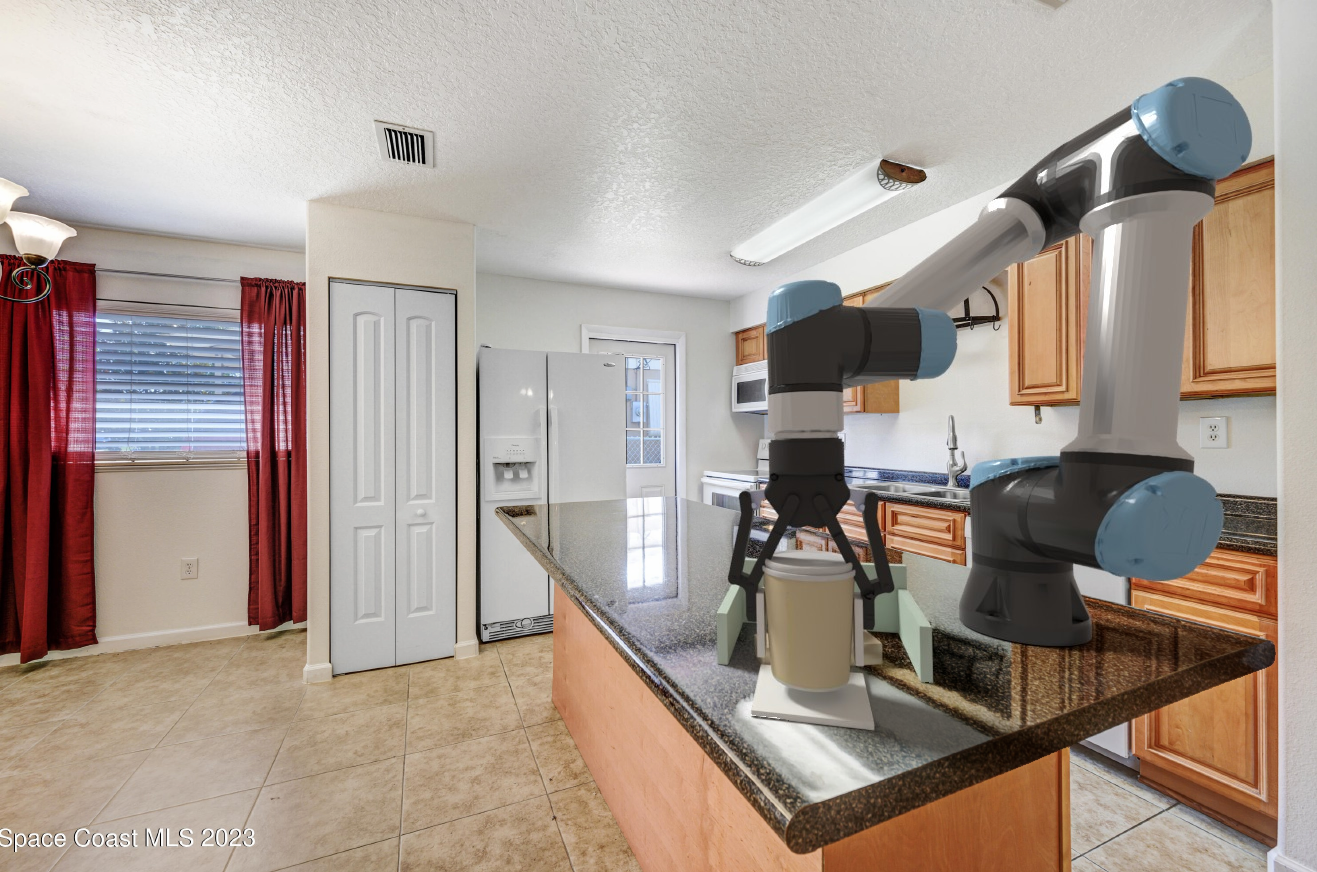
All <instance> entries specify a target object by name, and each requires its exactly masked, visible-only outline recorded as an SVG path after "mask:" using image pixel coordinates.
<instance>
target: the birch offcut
mask: <svg viewBox="0 0 1317 872" xmlns="http://www.w3.org/2000/svg"><path fill="white" fill-rule="evenodd" d="M753 635H754V636H753V637H754V638H753V639H754V656H755V657H756V659H757V660H758V662H759V664H760V665H761V664H763V665H771V663H770V652H769V640H768V633H767V649H766V654H765V658H763V657H757V633H754V634H753ZM863 648H864V666H869V665H873V666H874V665H883V643H882V642H881V641H880V640H879V639H877V638H876V637H875V636H874V635H873V634H871V633H870V631H869V632H868V631H866V630H863ZM851 666H856V665H855V660H854V651H853V633H852V645H851V663H850V667H851Z"/></svg>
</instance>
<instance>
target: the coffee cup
mask: <svg viewBox="0 0 1317 872" xmlns="http://www.w3.org/2000/svg"><path fill="white" fill-rule="evenodd" d="M765 565H766V567H765V566H763V567H762V568H763V571H764V590H765V604H766V616H767V624H766V629H767V634H768V640H769V652H770V663H771V671H772V675H773V677H774V678H775V679H776V680H777V681H778V682H780V683H781V684H783V685H785V686H788V687H790V688H793V689H797V690H802V691H809V692H829V691H835V690H838V689H841V688H843V687H844V686H846V685H847V684H848V682H849V676H850V672H851V666H850V663H851V645H852V627H853V608H854V582H855V580H854V578H853V576H855V570H852V563H847V564H846V563H845V561H844V559H843V557H842V555H841V553H837V552H831V551H824V550H815V549H814V550H812V549H788V550H778V551H775V552H774V554H773V556H772V558H771V560H769V559H766V560H765Z"/></svg>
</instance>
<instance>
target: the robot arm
mask: <svg viewBox="0 0 1317 872" xmlns="http://www.w3.org/2000/svg"><path fill="white" fill-rule="evenodd" d="M1252 132H1253V131H1252V127H1251V123H1250V120H1249V117H1248V115H1247V113H1246V111H1245V109H1244V108H1243V106H1242V104H1241V103H1240V102H1239V101H1238V100H1237V99H1236V97H1235V96H1234V95H1233V94H1232V93H1231V91H1229V90H1228V89H1226V88H1225V87H1224V86H1223V85H1221V84H1220V83H1217V82H1215V81H1213V80H1211V79H1208V78H1205V77H1199V76H1183V77H1180V78H1177V79H1173V80H1170V81H1169V82H1167V83H1164V84H1163V85H1161V86H1159V87H1157V88H1156V89H1154V90H1152V91H1150V92H1148V93H1144V94H1141V95H1140V96H1138V97H1136V99H1134V100H1133V101H1132V103H1130V105H1127V106H1125V108H1123V109H1121V110H1120V111H1118V112H1116V113H1114V114H1112V115H1110V116H1109V117H1107V118H1106V119H1104V120H1102V121H1100V122H1099V123H1098V124H1096V125H1094V126H1092V127H1090V128H1088V129H1087V130H1086V131H1084V132H1082V133H1079V135H1077V136H1075V137H1073V138H1072V139H1070V140H1069V141H1066V142H1064V143H1062V144H1061V145H1060V146H1058V147H1057V148H1055V149H1053V150H1051V152H1050V153H1048V154H1047V155H1046V156H1044V157H1043V158H1042V159H1040V160H1039V161H1037V163H1035V164H1034V166H1032V167H1031V168H1030V169H1029V170H1028V171H1026V172H1025V173H1024V174H1023V175H1022V176H1020V177H1019V178H1018V179H1017V180H1015V182H1013V183H1012V184H1011V185H1009V187H1007V188H1006V189H1005V190H1004V191H1003V192H1001V193H1000V194H999V195H998V196H996V197H995V198H994V199H992V200H990V201H989V202H988V203H986V205H985V206H984V207H983V208H982V209H981V211H980V213H979V215H978V218H977V220H976V221H975V222H974V223H972V224H971V225H970V226H968V227H967V228H966V229H964V230H963V231H961V232H960V233H959V234H958V235H956V236H955V237H953V238H952V239H951V240H949V241H948V242H946V243H945V244H944V245H942V246H941V247H939V248H938V249H936V251H934V252H933V253H932V254H930V255H928V256H927V257H926V258H925V259H923V260H922V261H921V262H920V263H918V264H916V265H915V266H914V267H912V268H911V269H909V270H908V271H907V272H906V273H905V274H903V275H902V276H900V277H899V278H898V279H896V280H894V282H892V283H890V284H889V285H888V286H887V287H885V288H884V289H882V290H881V291H880V292H879V293H876V295H874V296H873V297H872V298H870V299H869V300H867V301H866V302H865V303H864V304H862V305H860V306H853V305H844V304H845V303H844V298H843V294H842V290H841V287H840V286H839V285H838V284H837V283H836V282H834V281H833V282H831V281H827V280H822V279H807V280H804V279H803V280H797V281H793V282H789V283H785V284H782V285H780V286H779V287H776V289H774V290H773V291H771V293H770V295H769V297H768V299H767V311H766V323H765V324H766V326H765V327H766V328H765V338H766V356H767V357H766V358H767V359H766V360H767V362H766V363H767V426H768V427H767V429H768V430H767V431H768V432H769V433H770V434H774V436H773V438H774V439H770V441H769V442H768V481H767V483H766V486H765V487H764V488H762V489H760V488H759V489H752V490H750V489H749V488H747V489H746V488H745V489H743V490H742V491H740V493H739V494H738V501H739V502H738V503H739V509H740V517H739V523H738V528H737V531H736V536H735V537H736V538H735V541H734V546H733V551H732V556H731V560H730V566H729V570H728V575H727V581H728V583H729V584H731V585H738V586H740V587H742V588H743V589H744V590H745V592H746V617H747V620H748V621H750V622H757V623H756V634H757V657H763V658H765V654H766V649H767V634H768V632H767V624H766V604H765V590H764V587H759V586H758V585H759V583H760V581H761V579H762V577H763V575H764V571H763V568H762V567H763V566H765V567H766V565H765V560H766V559H769V560H771V558H772V556H773V554H774V552H776V550H777V549H778V546H779V544H780V542H781V539H782V538H783V536H784V534H785V532H786V531H787V528H788V527H790V528H791V529H793V528H794V529H801V528H804V527H805V528H806V527H809V528H813V529H824V528H827V530H828V532H829V534H830V536H831V538H832V540H833V541H834V543H835V545H836V547H837V550H839V554H841V555H842V557H843V559H844V561H845V563H846V564H847V563H852V570H855V576H853V578H854V580H855V582H856V583H857V585H858V587H859V589H860V592H854V608H853V651H854V660H855V665H854V666H857V667H864V666H865V665H864V648H863V630H873V629H874V626H875V598H876V597H877V596H878V595H880V594H883V593H891V592H893V591H894V589H895V588H894V582H893V578H892V575H891V571H890V567H889V564H890V563H889V559H888V556H887V551H886V548H885V544H884V541H883V535H882V531H881V529H880V523H879V519H878V510H879V509H878V507H879V503H880V502H879V500H880V497H879V495H878V494H877V493H876V492H875V491H874V490H871V489H868V490H866V491H863V490H857V489H856V490H855V489H850V487H849V486H848V484H847V481H846V474H845V466H846V465H845V441H843V439H842V438H840V435H839V434H838V433H842V432H843V431H844V430H845V415H844V414H845V413H844V406H845V405H844V390H847V389H848V390H849V389H853V388H857V387H863V386H868V385H875V384H878V383H884V382H891V381H899V380H904V381H905V380H907V381H911V382H916V381H917V380H932V379H936V378H938V377H941V376H942V375H943V374H945V373H946V372H947V371H948V370H949V369H950V367H951V366H952V364H953V362H954V361H955V357H956V356H957V355H956V354H957V350H958V331H957V327H956V324H955V322H954V321H953V319H952V317H950V315H949V314H948V313H950V312H951V311H952V310H953V309H955V308H956V307H957V306H958V305H960V304H962V303H963V302H964V301H965V300H966V299H968V298H969V297H971V296H972V295H973V294H975V293H976V292H978V291H979V290H980V289H981V288H982V287H984V286H985V285H987V284H988V283H990V282H991V281H992V280H993V279H995V278H996V277H997V276H998V275H1000V274H1001V273H1003V271H1006V269H1008V268H1009V267H1010V266H1012V265H1013V264H1022V263H1026V262H1028V261H1030V260H1033V259H1034V258H1035V257H1037V255H1039V254H1040V253H1042V252H1043V251H1045V250H1046V249H1048V248H1050V247H1052V246H1055V245H1056V244H1059V243H1061V242H1063V241H1064V242H1065V240H1068V239H1071V238H1073V237H1075V236H1077V235H1080V234H1085V235H1087V236H1088V237H1089V238H1091V239H1092V240H1093V246H1092V261H1091V270H1090V279H1089V280H1090V282H1089V292H1088V293H1089V295H1088V307H1087V318H1086V329H1085V330H1086V331H1085V339H1084V340H1085V341H1084V351H1083V352H1084V353H1083V365H1082V367H1083V368H1082V376H1081V378H1082V379H1081V387H1080V388H1081V389H1080V401H1079V410H1078V411H1079V413H1078V424H1077V435H1076V437H1074V439H1073V440H1072V441H1070V442H1069V443H1067V444H1066V445H1065V446H1063V447H1062V448H1061V449H1060V450H1059V455H1040V456H1039V455H1038V456H1025V457H1024V456H1023V457H1022V456H1021V457H1013V458H1011V457H1010V458H1000V459H992V460H985V461H981V462H978V463H976V464H975V465H974V466H973V467H972V468H971V470H970V480H969V487H968V494H969V514H970V515H969V516H970V536H971V537H970V538H971V569H970V571H969V574H968V577H967V580H966V583H965V585H964V588H963V592H962V593H961V594H962V595H961V597H960V600H959V604H958V605H959V606H958V610H959V611H958V613H959V617H958V618H959V621H960V622H961V624H963V625H964V626H966V627H967V628H969V629H971V630H973V631H975V632H977V633H980V634H983V635H986V636H989V637H992V638H996V639H1000V640H1005V641H1009V642H1015V643H1019V644H1020V643H1021V644H1028V645H1033V646H1034V645H1037V646H1047V647H1050V646H1051V647H1067V646H1068V647H1069V646H1070V647H1071V646H1078V645H1083V644H1087V643H1089V642H1090V641H1092V639H1093V622H1092V617H1091V615H1090V612H1089V610H1088V608H1087V605H1086V603H1085V601H1084V599H1083V596H1082V593H1081V591H1080V588H1079V585H1078V583H1077V581H1076V578H1075V575H1074V565H1078V566H1080V567H1081V566H1082V567H1086V568H1090V569H1095V570H1098V571H1103V572H1106V573H1108V574H1111V575H1113V576H1115V577H1120V578H1122V577H1123V578H1124V577H1125V578H1131V579H1132V578H1133V579H1139V580H1143V581H1150V582H1166V581H1167V582H1168V581H1174V580H1177V579H1180V578H1183V577H1186V576H1188V575H1189V574H1191V573H1193V572H1194V571H1195V570H1196V569H1197V568H1198V566H1200V565H1202V564H1203V565H1204V563H1205V562H1206V561H1207V560H1208V559H1209V557H1211V554H1212V553H1213V552H1214V551H1215V549H1216V548H1217V545H1218V542H1219V540H1220V538H1221V534H1222V531H1223V526H1224V520H1225V519H1224V507H1223V504H1222V503H1223V502H1222V501H1221V499H1220V498H1217V497H1216V496H1217V495H1218V492H1217V490H1216V489H1215V487H1214V486H1213V485H1212V484H1211V483H1210V482H1209V481H1207V479H1205V478H1203V477H1201V476H1199V475H1197V474H1194V472H1195V457H1194V456H1193V455H1192V454H1191V453H1189V452H1188V451H1187V450H1186V449H1184V448H1183V447H1182V446H1180V445H1179V443H1178V440H1177V439H1178V436H1177V435H1178V427H1179V413H1180V411H1179V410H1180V400H1181V388H1182V376H1183V365H1184V364H1183V362H1184V348H1185V339H1186V337H1185V335H1186V323H1187V310H1188V299H1189V298H1188V297H1189V287H1190V286H1189V284H1190V272H1191V262H1192V261H1191V260H1192V245H1193V235H1194V233H1193V232H1194V227H1195V226H1196V225H1197V224H1198V223H1199V222H1201V220H1203V219H1204V218H1206V217H1208V215H1209V214H1210V213H1212V212H1213V210H1214V208H1215V202H1216V201H1215V199H1216V189H1217V182H1218V180H1222V179H1225V178H1229V176H1230V175H1232V174H1233V173H1234V172H1236V171H1237V170H1239V169H1240V168H1241V166H1242V165H1243V164H1245V163H1246V161H1248V158H1249V156H1250V154H1251V150H1252V145H1253V133H1252ZM764 500H766V501H767V502H768V504H769V505H770V506H771V508H772V510H774V511H775V513H776V514H777V518H776V520H775V522H774V525H773V526H772V528H771V531H770V532H769V534H768V536H767V539H766V541H765V542H764V545H763V547H762V549H761V550H760V553H759V555H758V557H757V558H756V559H757V561H756V563H755V565H754V567H753V569H752V571H751V573H750V574H747V573H745V572H743V567H744V563H745V558H747V554H748V553H747V551H748V547H749V543H750V538H751V533H752V528H753V523H754V518H755V513H756V512H755V511H758V510H759V509H760V507H761V506H762V501H764ZM849 501H851V502H853V504H854V508H855V510H856V511H857V512H858V513H861V518H862V522H863V525H864V526H863V527H864V529H865V530H864V531H865V533H866V538H867V541H868V545H869V549H870V553H871V554H870V555H871V558H872V563H874V566H875V570H876V574H877V578H876V579H872V580H869V578H868V576H867V575H866V573H865V571H864V569H863V567H862V565H861V563H862V562H860V560H859V557H858V556H857V554H856V552H855V550H854V549H853V547H852V544H851V543H850V541H849V538H848V537H847V535H846V533H845V531H844V530H843V527H842V525H841V523H840V521H839V519H838V517H837V516H838V515H839V513H840V512H841V511H842V510H843V508H844V507H845V506H846V504H847V503H848V502H849ZM757 657H756V658H757Z"/></svg>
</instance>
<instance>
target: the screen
mask: <svg viewBox="0 0 1317 872" xmlns="http://www.w3.org/2000/svg"><path fill="white" fill-rule="evenodd" d="M757 559H758V558H747V557H746V558H745V563H744V567H743V572H745V573H747V574H750V573H751V571H752V569H753V567H754V565H755V563H756V561H757ZM860 563H861V565H862V567H863V569H864V571H865V573H866V575H867V576H868V578H869V580H872V579H876V578H877V574H876V570H875V566H874V562H860ZM889 567H890V571H891V575H892V578H893V582H894V588H895V589H894V591H893V592H891V593H883V594H880V595H878V596H877V597H876V598H875V626H874V629H873V630H866V631H867V632H868V631H869V632H882V633H894V634H895V633H896V634H898V636H899V637H900V640H901V642H902V644H903V646H904V649H905V651H906V654H907V655H908V657H909V659H910V661H911V664H912V666H913V668H914V671H915V672H916V675H917V677H918V679H919V681H920V683H925V682H929V683H928V684H934V671H933V668H934V667H933V666H934V665H933V662H934V661H933V628H932V627H933V626H932V625H931V624H930V622H929V620H928V619H927V618H926V616H925V614H924V613H923V611H922V609H920V607H919V605H918V603H917V602H916V600H915V599H914V597H913V596H912V594H911V593H910V591H909V590H908V581H907V580H908V577H907V576H908V574H907V573H908V572H907V571H908V570H907V565H906V563H905V564H903V563H889ZM758 586H759V587H764V575H763V577H762V579H761V581H760V583H759V585H758ZM854 592H860V589H859V587H858V585H857V583H856V582H854ZM743 623H747V624H748V623H749V624H757V622H750V621H748V620H747V617H746V592H745V590H744V589H743V588H742V587H740V586H738V585H732V584H731V585H730V587H729V588H728V591H727V592H726V594H725V597H724V598H723V600H722V602H721V604H720V605H719V608H718V609H717V612H716V640H717V642H716V646H717V648H716V649H717V650H716V651H717V654H716V655H717V665H726V666H727V665H729V663H730V660H731V658H732V654H733V652H734V649H735V646H736V643H737V640H738V637H739V635H740V632H741V629H742V627H743ZM766 625H767V616H766Z"/></svg>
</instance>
